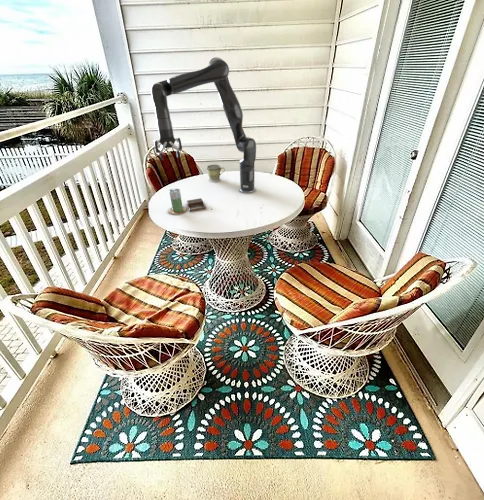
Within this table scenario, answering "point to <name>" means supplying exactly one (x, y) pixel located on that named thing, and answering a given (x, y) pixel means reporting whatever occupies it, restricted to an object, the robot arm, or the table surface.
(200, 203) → the walnut rest
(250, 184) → the robot arm
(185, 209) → the cork coaster
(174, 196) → the green can
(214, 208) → the table surface
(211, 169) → the ceramic cup
